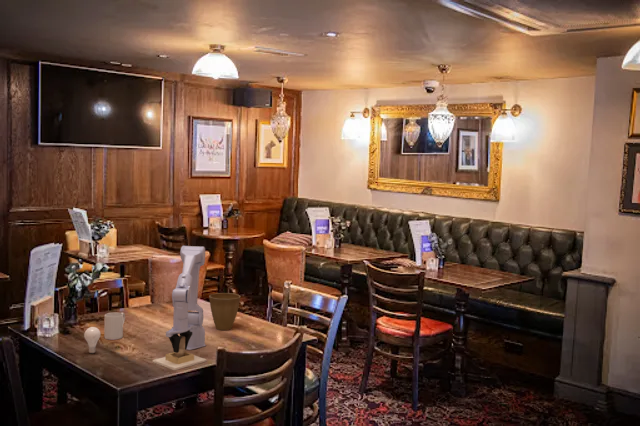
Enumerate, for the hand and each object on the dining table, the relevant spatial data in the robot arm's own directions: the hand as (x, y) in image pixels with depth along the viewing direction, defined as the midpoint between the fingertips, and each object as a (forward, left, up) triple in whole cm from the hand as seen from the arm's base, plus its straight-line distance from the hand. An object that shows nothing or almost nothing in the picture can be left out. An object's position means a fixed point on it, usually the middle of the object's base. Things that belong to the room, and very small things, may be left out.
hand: (179, 350), depth 262 cm
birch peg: (0, 0, -2) cm, 2 cm away
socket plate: (0, 0, -4) cm, 4 cm away
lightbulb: (+19, -33, -5) cm, 38 cm away
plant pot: (-47, -26, -5) cm, 54 cm away
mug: (-2, -48, -5) cm, 48 cm away
